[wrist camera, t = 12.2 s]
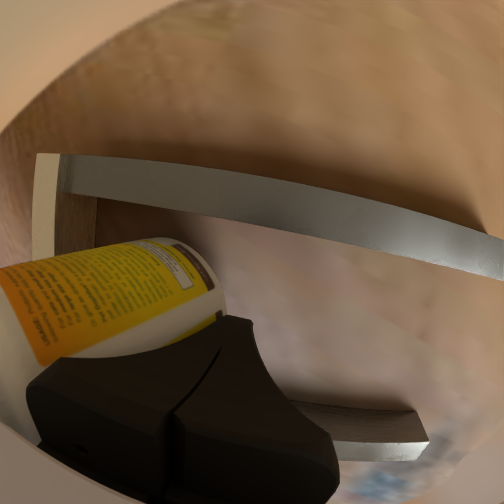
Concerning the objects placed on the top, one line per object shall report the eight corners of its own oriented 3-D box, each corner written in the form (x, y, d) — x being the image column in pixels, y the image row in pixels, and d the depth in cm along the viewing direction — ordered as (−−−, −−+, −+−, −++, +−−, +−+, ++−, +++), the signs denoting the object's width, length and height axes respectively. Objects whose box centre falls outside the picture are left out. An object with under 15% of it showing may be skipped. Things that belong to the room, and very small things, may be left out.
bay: (405, 429, 13) (417, 466, 10) (80, 358, 15) (51, 384, 12) (488, 234, 10) (527, 249, 8) (79, 155, 12) (36, 153, 9)
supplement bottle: (119, 245, 13) (-92, 292, 4) (218, 224, 11) (-111, 289, 2) (146, 356, 14) (-29, 451, 4) (246, 366, 11) (34, 549, 2)
